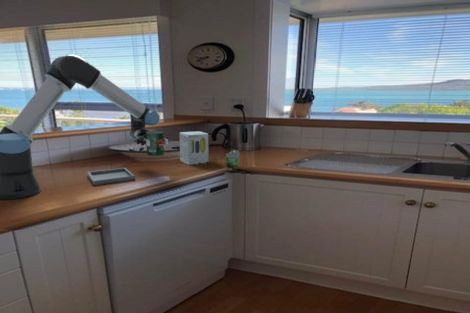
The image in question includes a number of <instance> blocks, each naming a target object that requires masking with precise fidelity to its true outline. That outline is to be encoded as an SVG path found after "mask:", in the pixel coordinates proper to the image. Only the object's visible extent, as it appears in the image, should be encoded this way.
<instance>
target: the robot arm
mask: <svg viewBox="0 0 470 313" xmlns="http://www.w3.org/2000/svg"><path fill="white" fill-rule="evenodd" d="M44 77H45V80H44V81H43V83H42V84H41V85H40V87H39V88H38V90H37V91H36V92H35V94H33V96H32V97H31V98H30V100H29V101H28V102H27V103H26V104H25V106H24V108H23V109H22V110H21V111H20V113H19V114H18V115H17V116H16V118H15V119H14V120H13V121H12V122H11V124H7V125H4V126H3V127H2V129H0V200H16V199H22V198H29V197H32V196H34V195H36V194H39V193H40V192H41V185H40V184H41V183H40V182H38V179H37V178H36V175H35V173H34V166H33V158H32V157H33V156H32V150H31V146H32V143H33V142H34V138H33V135H34V134H35V132H36V131H37V130H38V129H39V127H40V126H41V124H42V123H43V122H44V120H45V119H46V118H47V116H48V114H50V112H51V111H52V110H53V108H54V107H55V106H56V104H57V103H58V101H60V99H61V98H62V96H63V95H64V93H66V92H71V91H72V89H73V88H74V87H75V85H76V84H79V85H80V86H82V87H84V88H85V89H87V90H89V89H91V90H93V91H94V92H96V93H98V94H99V95H101V96H102V97H104V98H105V99H107V100H108V101H109V102H110V103H113V104H114V105H116V106H118V108H120V109H122V110H124V111H125V112H126V113H128V114H129V116H130V130H129V137H130V138H131V139H132V140H133V142H134V143H135V144H136V145H140V144H141V147H142V146H146V147H147V146H150V140H148V139H146V132H148V131H149V130H148V129H146V125H147V126H149V127H150V126H156V125H157V124H159V122H160V119H161V118H160V114H159V113H158V111H156V110H152V109H150V108H149V107H147V106H146V105H144V104H143V102H142V103H141V101H139V100H137V99H136V98H135V97H133V96H132V95H131V94H129V93H127V92H126V91H125V90H123V89H122V88H121V87H119V86H118V85H117V84H115V83H113V82H112V81H111V80H109V79H108V78H106V77H105V76H104V75H102V73H101V71H100V70H99V69H98V68H96V67H95V66H93V65H92V64H91V63H90V62H88V61H87V60H86V59H85V58H82V57H81V56H78V55H75V54H66V55H64V56H58V57H57V58H55V59H54V60H53V61H52V62H51V63H50V67H49V69H48V70H47V71H46V72H45V74H44ZM163 145H165V146H168V145H169V136H165V135H163Z"/></svg>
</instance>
